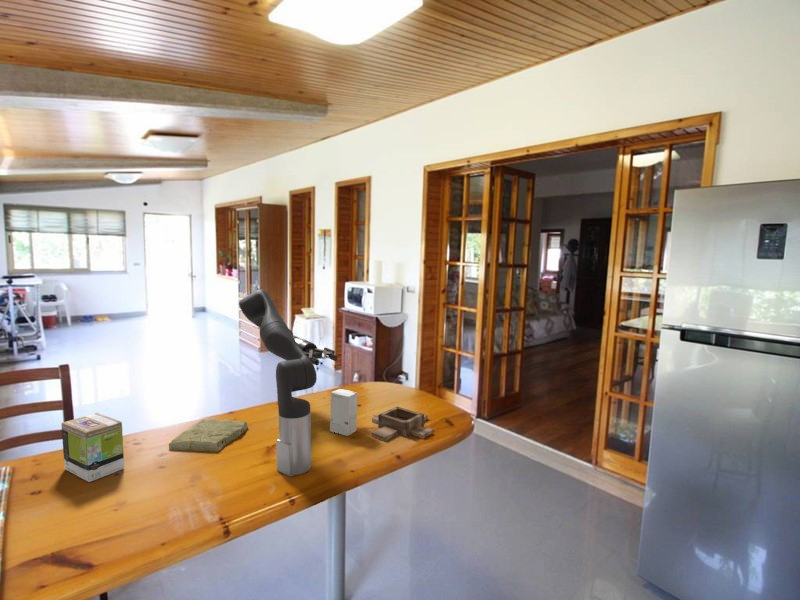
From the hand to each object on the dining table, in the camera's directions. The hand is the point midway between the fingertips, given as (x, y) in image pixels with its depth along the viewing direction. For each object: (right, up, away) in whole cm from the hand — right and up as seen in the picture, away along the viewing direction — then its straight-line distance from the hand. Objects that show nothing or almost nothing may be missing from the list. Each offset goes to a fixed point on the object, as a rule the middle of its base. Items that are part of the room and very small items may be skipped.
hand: (327, 360), depth 162 cm
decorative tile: (-38, -26, -12) cm, 48 cm away
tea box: (-64, -28, -34) cm, 77 cm away
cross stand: (+28, -25, -2) cm, 37 cm away
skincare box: (+7, -25, -6) cm, 27 cm away
